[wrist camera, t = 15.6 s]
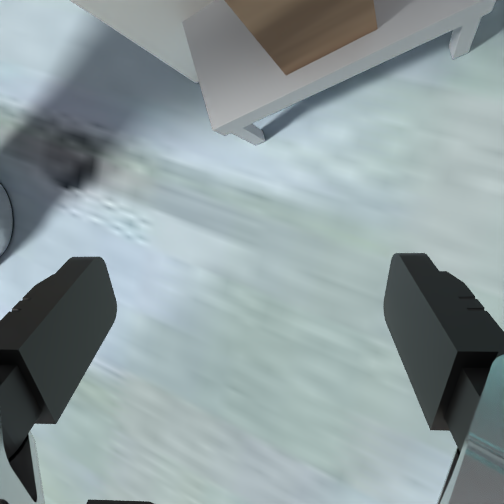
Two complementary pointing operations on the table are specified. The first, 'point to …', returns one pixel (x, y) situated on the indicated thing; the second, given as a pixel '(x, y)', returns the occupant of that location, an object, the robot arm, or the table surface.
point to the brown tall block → (304, 27)
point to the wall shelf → (259, 61)
